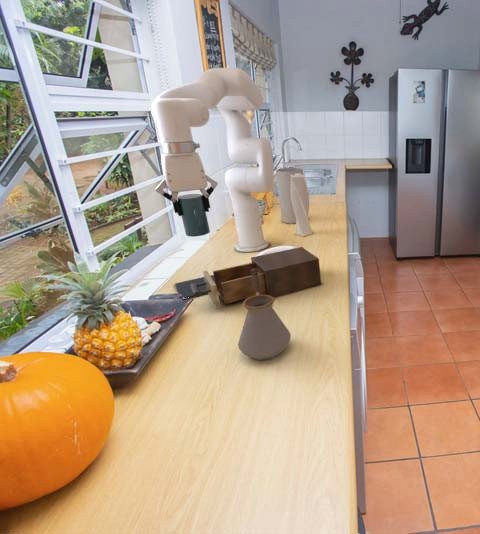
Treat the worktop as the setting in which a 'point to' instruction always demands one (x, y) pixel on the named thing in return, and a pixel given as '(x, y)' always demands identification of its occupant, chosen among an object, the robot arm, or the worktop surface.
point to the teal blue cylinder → (194, 214)
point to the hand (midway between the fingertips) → (193, 212)
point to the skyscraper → (300, 203)
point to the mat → (186, 290)
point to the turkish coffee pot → (262, 327)
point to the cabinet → (288, 271)
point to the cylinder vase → (286, 193)
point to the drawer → (231, 284)
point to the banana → (275, 250)
